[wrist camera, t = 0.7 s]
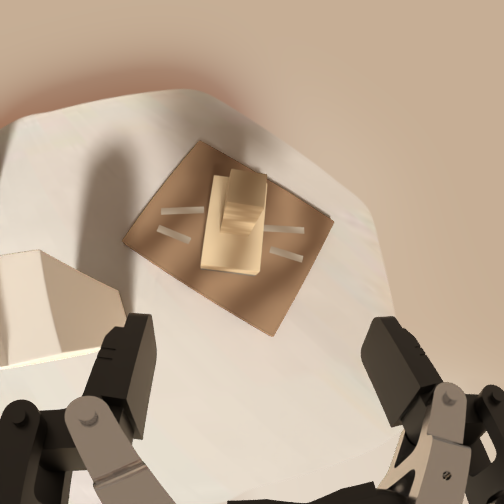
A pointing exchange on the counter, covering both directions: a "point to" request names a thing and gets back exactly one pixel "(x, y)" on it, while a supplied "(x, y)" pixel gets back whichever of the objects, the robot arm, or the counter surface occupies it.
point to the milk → (51, 310)
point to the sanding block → (235, 223)
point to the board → (193, 231)
